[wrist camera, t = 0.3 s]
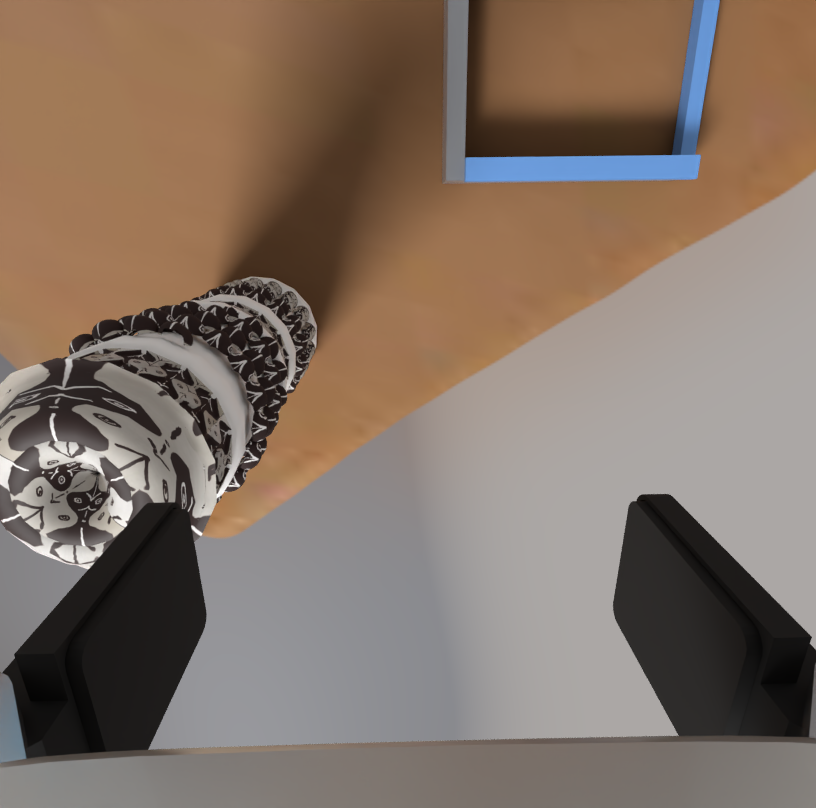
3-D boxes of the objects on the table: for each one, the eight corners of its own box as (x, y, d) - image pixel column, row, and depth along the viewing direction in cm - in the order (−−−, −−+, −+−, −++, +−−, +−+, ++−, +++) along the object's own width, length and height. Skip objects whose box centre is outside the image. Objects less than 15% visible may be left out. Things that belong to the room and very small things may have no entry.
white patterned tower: (179, 341, 40) (-134, 520, 16) (244, 244, 37) (-10, 289, 14) (277, 410, 42) (127, 656, 18) (345, 322, 40) (272, 475, 16)
